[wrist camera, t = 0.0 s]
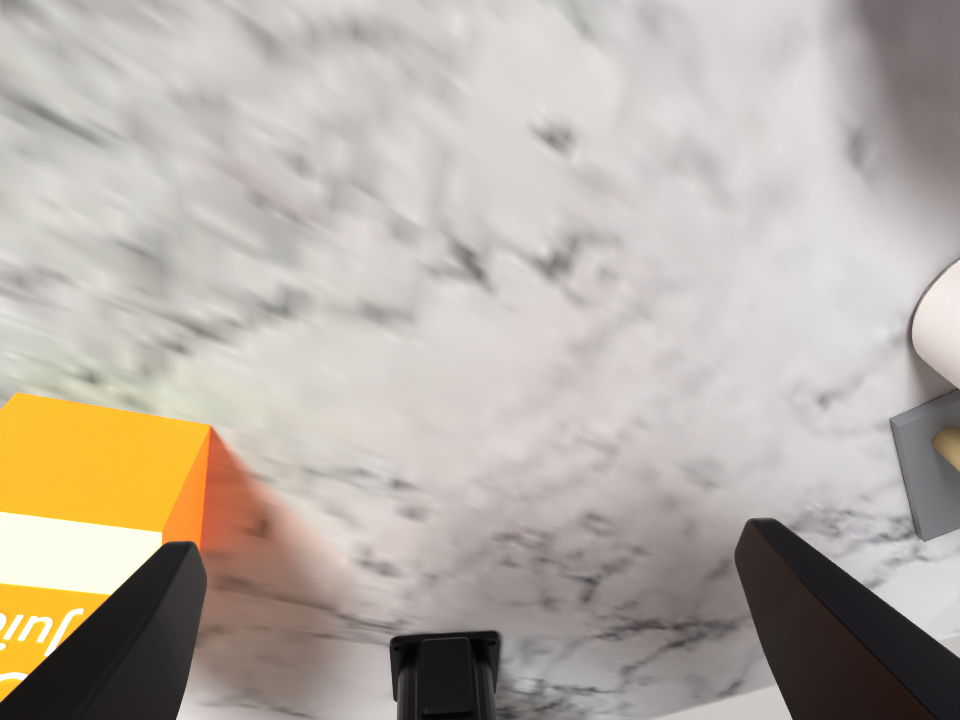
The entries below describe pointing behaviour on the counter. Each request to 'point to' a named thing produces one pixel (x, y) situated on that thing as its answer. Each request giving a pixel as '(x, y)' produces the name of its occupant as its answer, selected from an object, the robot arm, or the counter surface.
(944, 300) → the can
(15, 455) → the orange juice
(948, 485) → the peg board
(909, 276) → the counter surface
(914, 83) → the counter surface
